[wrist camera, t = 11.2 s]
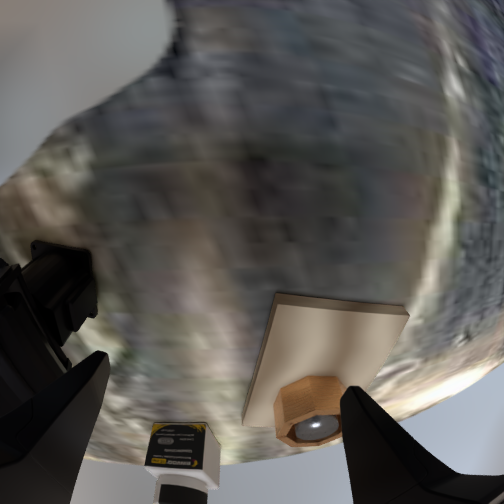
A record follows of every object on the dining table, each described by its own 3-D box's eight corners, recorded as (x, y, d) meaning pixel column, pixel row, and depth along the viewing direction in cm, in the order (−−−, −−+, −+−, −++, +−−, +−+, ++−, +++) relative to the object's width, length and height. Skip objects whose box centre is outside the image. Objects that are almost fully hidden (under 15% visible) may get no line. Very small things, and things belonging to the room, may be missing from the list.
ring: (268, 415, 26) (271, 446, 22) (286, 374, 23) (291, 409, 20) (329, 415, 27) (336, 444, 23) (355, 376, 24) (367, 407, 20)
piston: (286, 409, 26) (290, 440, 22) (297, 385, 24) (303, 419, 20) (322, 409, 26) (329, 439, 22) (336, 386, 24) (345, 418, 21)
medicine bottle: (206, 421, 29) (199, 510, 18) (221, 446, 32) (218, 521, 21) (152, 421, 29) (136, 502, 18) (173, 446, 32) (163, 516, 21)
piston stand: (241, 415, 28) (241, 425, 27) (275, 292, 22) (277, 304, 20) (338, 416, 29) (341, 425, 28) (402, 306, 23) (410, 315, 21)
